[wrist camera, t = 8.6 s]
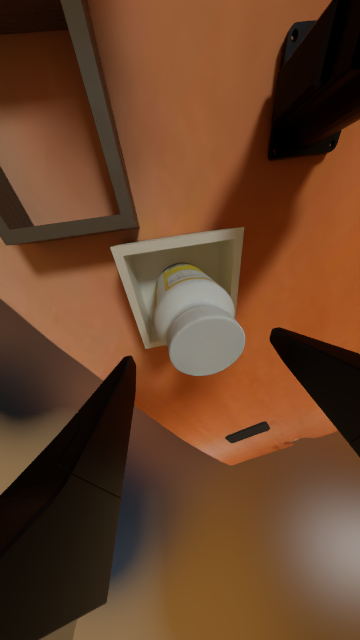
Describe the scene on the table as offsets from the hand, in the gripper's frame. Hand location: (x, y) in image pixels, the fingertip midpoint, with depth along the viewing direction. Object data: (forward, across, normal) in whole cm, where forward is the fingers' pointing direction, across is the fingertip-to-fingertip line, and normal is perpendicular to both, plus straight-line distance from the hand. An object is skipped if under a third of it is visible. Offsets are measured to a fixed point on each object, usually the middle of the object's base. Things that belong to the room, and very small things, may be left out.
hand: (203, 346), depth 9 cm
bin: (+12, 0, 0) cm, 12 cm away
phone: (+13, -17, +56) cm, 60 cm away
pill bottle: (+11, 0, 0) cm, 11 cm away
